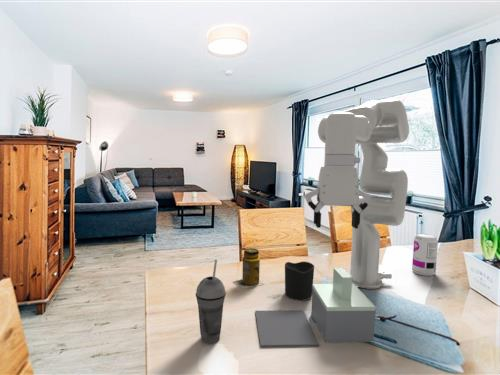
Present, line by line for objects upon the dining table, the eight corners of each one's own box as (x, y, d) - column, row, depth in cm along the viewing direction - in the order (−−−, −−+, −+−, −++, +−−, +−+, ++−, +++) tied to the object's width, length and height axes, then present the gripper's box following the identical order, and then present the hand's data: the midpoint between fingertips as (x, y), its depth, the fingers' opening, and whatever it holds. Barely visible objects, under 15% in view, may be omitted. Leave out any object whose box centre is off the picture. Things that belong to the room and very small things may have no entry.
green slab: (353, 292, 92) (354, 263, 91) (375, 316, 78) (376, 282, 77) (312, 292, 91) (313, 263, 90) (326, 317, 77) (328, 283, 76)
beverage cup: (196, 331, 82) (196, 255, 80) (225, 330, 82) (226, 254, 81) (194, 348, 75) (194, 265, 73) (225, 347, 75) (226, 264, 73)
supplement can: (413, 274, 125) (415, 237, 124) (411, 267, 133) (413, 232, 131) (436, 277, 122) (439, 239, 120) (433, 270, 130) (436, 234, 128)
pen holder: (306, 304, 98) (307, 272, 97) (279, 296, 103) (279, 266, 102) (317, 293, 106) (318, 264, 105) (291, 286, 111) (292, 258, 110)
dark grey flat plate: (303, 311, 93) (303, 310, 93) (319, 346, 76) (319, 344, 76) (255, 312, 92) (255, 310, 92) (260, 347, 75) (260, 345, 75)
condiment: (264, 284, 113) (264, 251, 112) (243, 289, 108) (244, 254, 107) (252, 277, 119) (253, 246, 118) (233, 282, 114) (233, 249, 113)
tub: (352, 313, 93) (353, 287, 92) (373, 341, 79) (375, 310, 78) (311, 314, 92) (312, 287, 91) (325, 342, 78) (326, 311, 77)
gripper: (367, 162, 86) (364, 224, 88) (303, 161, 86) (301, 223, 88) (378, 162, 79) (374, 231, 80) (308, 161, 79) (305, 229, 81)
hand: (336, 227), depth 84 cm, fingers open, 9 cm apart
